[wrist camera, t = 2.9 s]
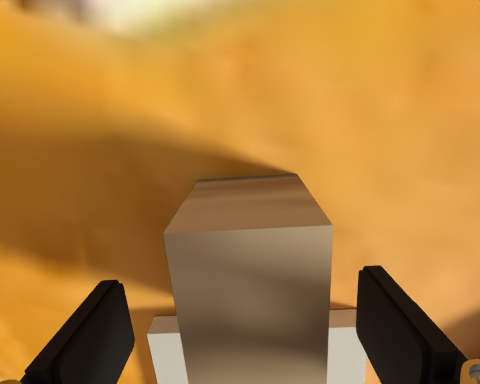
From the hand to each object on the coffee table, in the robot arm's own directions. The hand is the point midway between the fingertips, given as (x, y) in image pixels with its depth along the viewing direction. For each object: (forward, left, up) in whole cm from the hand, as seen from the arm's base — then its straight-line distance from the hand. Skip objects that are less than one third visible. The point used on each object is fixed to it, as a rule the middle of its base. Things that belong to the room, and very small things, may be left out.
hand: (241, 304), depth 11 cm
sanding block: (-1, 0, -3) cm, 3 cm away
